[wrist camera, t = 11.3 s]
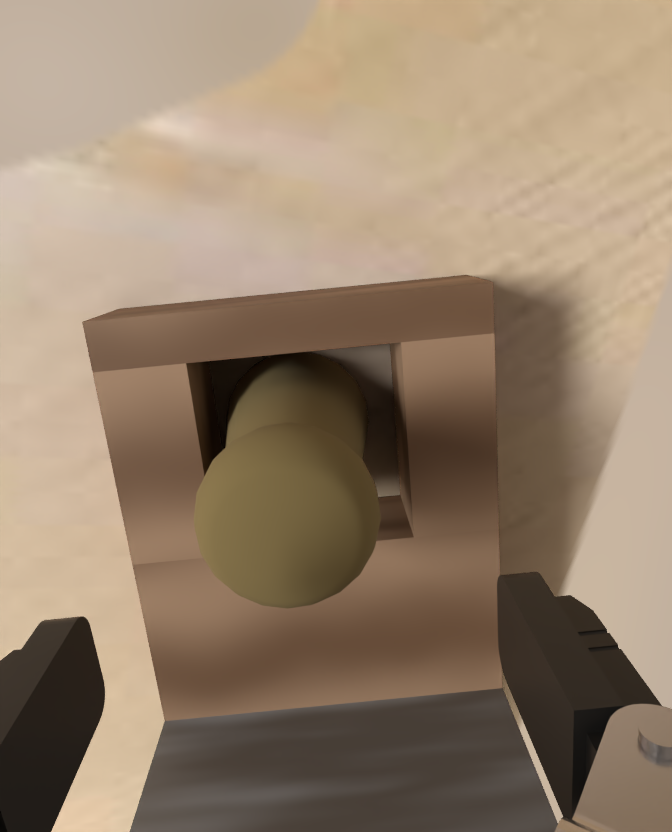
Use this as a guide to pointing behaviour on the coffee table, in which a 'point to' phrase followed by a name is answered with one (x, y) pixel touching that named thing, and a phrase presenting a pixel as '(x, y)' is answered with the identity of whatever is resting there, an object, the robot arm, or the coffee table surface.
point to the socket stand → (339, 614)
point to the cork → (290, 485)
